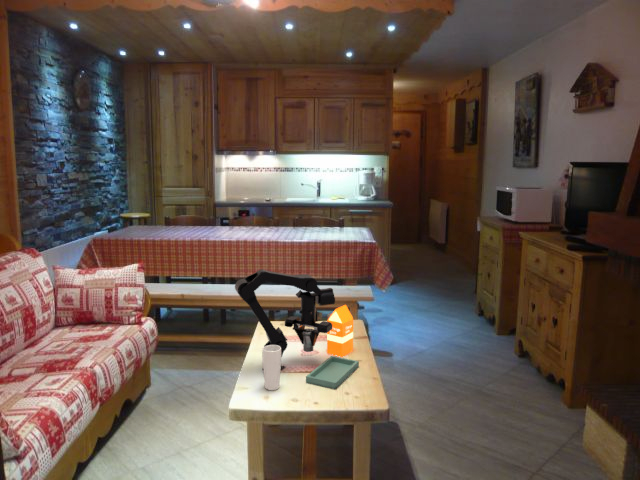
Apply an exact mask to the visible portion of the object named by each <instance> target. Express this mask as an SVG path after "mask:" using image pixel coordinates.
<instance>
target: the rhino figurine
mask: <svg viewBox="0 0 640 480" xmlns="http://www.w3.org/2000/svg"><path fill="white" fill-rule="evenodd" d="M331 315H332V313H331V312H329V313H327V314H326V321H327V320H328V319H329V317H330V316H331Z"/></svg>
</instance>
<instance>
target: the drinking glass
mask: <svg viewBox="0 0 640 480" xmlns="http://www.w3.org/2000/svg"><path fill="white" fill-rule="evenodd" d="M261 352H262V353H261V354H262V355H261V356H262V357H261V358H262V369H263V370H264V371H263V370H262V371H263V377H264V388H265V389H266V390H268V391H276V390H278V389H279V388H280V387H281V386H280V382H281V371H282V370H281V366H282V357H281V347H280V346H278V345H267V346H264V345H263V347H262V351H261Z"/></svg>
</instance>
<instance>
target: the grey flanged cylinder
mask: <svg viewBox="0 0 640 480" xmlns="http://www.w3.org/2000/svg"><path fill="white" fill-rule="evenodd" d="M313 330H314V328H310V327H307V328H305V329H303V330H302V334H303V344H302V346H303V348H302V349H303V351H304V352H306V353H307V352H308V353H310V352H314V346H312V336H311V332H312V331H313Z"/></svg>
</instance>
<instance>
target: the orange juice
mask: <svg viewBox="0 0 640 480" xmlns="http://www.w3.org/2000/svg"><path fill="white" fill-rule="evenodd" d="M331 314H332V315H331V316H330V317H329V319H328V320H327V319H326V322H331V323H332V330H330V331H329V332H327V333H326V334H327V335H326V341H327V342H326V343H327V344H326V353H327V354H328V353H329V354H328V355H332V354H333V355H332V356H335V355H337V356H336V357H339V356H340V358H344V357H345V356H347V355H349V354H350V353H352V352H353V351H354V318H353V315H352V313H351V312H350V310H349V308H348V306H347V304H344V305H342V306H339V307H337V308H335V309H334V311H333V312H332V313H331ZM343 356H344V357H343Z"/></svg>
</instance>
